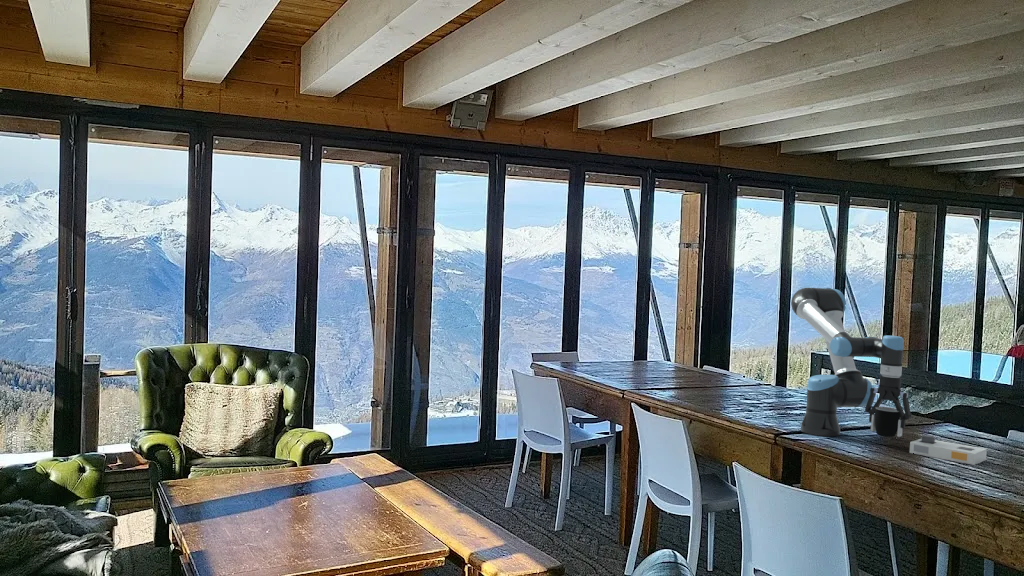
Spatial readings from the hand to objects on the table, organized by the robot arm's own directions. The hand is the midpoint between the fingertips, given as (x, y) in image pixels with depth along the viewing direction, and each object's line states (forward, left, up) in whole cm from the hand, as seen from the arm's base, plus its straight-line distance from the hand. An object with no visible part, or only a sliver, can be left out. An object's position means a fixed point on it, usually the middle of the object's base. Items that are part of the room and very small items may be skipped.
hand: (886, 433), depth 326 cm
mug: (-1, 0, -1) cm, 1 cm away
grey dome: (+29, 0, -3) cm, 29 cm away
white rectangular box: (+23, 0, -4) cm, 23 cm away
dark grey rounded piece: (+16, 0, -1) cm, 16 cm away
